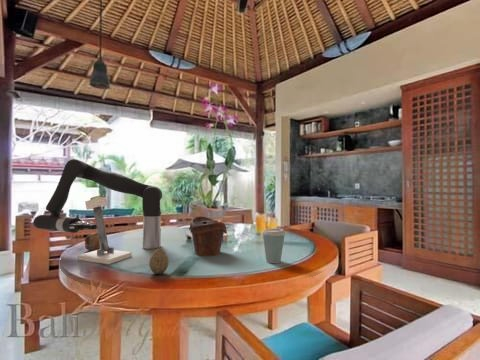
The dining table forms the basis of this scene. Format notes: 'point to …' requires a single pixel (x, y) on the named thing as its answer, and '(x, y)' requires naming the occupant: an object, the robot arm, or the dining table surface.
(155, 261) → the decorative egg
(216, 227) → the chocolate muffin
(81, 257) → the base plate
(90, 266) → the dining table surface
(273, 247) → the disposable coffee cup
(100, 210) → the post
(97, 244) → the brown textured slab
